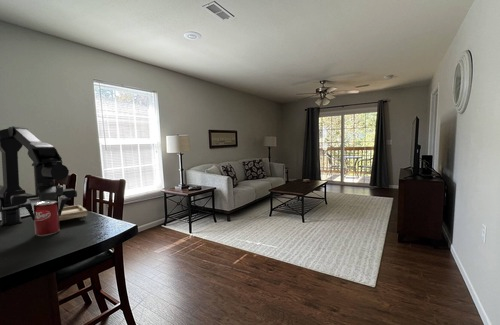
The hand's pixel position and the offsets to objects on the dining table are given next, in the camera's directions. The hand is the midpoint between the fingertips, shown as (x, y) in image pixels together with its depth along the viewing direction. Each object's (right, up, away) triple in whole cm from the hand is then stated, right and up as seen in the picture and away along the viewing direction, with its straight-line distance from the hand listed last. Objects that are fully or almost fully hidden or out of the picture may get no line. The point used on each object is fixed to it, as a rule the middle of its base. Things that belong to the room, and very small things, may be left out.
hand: (47, 217), depth 90 cm
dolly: (-5, -5, +15) cm, 16 cm away
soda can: (0, -6, 0) cm, 6 cm away
